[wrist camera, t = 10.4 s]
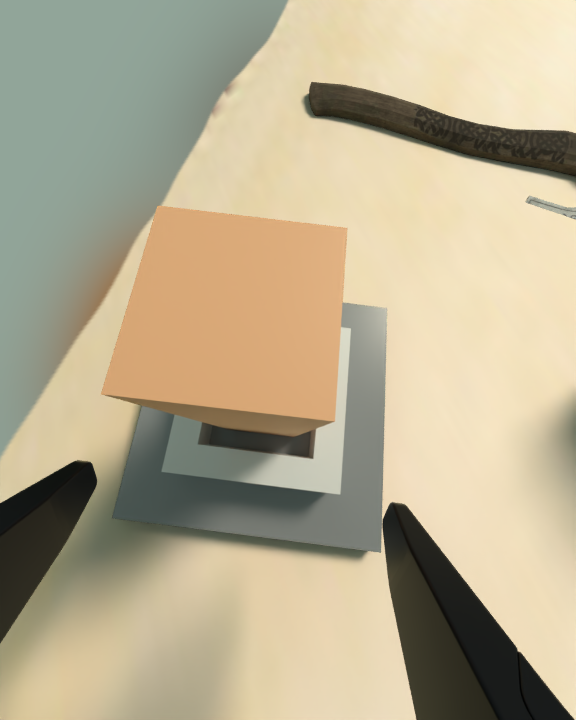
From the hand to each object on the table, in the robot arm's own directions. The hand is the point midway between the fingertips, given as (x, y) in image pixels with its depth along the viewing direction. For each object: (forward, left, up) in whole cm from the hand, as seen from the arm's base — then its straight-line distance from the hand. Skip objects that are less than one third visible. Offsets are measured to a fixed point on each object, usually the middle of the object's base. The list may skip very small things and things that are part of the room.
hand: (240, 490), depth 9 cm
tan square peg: (+3, +2, -9) cm, 9 cm away
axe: (+31, +5, -11) cm, 33 cm away
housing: (+3, +2, -10) cm, 10 cm away
